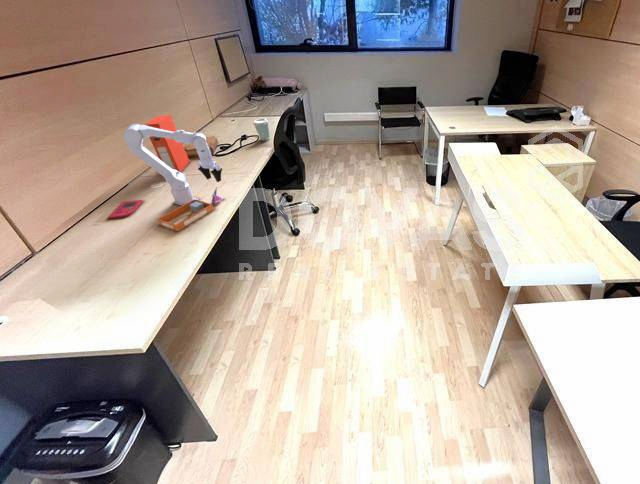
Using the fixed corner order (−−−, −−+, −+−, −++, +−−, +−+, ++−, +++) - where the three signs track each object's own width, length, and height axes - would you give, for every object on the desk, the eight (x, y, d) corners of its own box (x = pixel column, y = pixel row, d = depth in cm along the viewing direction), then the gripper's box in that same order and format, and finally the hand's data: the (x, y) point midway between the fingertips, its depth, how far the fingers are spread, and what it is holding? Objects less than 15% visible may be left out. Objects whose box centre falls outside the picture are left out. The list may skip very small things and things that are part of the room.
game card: (214, 186, 170) (211, 194, 163) (225, 188, 172) (222, 196, 165) (213, 197, 173) (210, 205, 166) (224, 198, 175) (221, 207, 168)
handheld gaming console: (106, 216, 156) (122, 201, 169) (108, 219, 157) (123, 203, 169) (128, 214, 158) (142, 199, 170) (129, 216, 159) (143, 201, 171)
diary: (214, 154, 224) (211, 146, 221) (184, 158, 219) (181, 150, 215) (218, 143, 242) (215, 135, 239) (190, 146, 237) (188, 139, 234)
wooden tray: (159, 225, 152) (156, 219, 150) (197, 204, 167) (194, 199, 166) (177, 231, 148) (174, 225, 146) (214, 210, 163) (212, 204, 161)
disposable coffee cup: (269, 141, 244) (264, 122, 236) (255, 141, 244) (250, 122, 236) (274, 136, 253) (269, 118, 245) (260, 136, 253) (255, 118, 245)
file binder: (166, 174, 198) (143, 124, 180) (176, 163, 212) (156, 115, 195) (180, 173, 199) (159, 123, 182) (189, 162, 213) (170, 114, 196)
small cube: (191, 211, 161) (188, 205, 159) (198, 207, 165) (196, 201, 162) (198, 213, 160) (195, 207, 158) (205, 209, 163) (202, 203, 161)
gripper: (222, 156, 164) (229, 179, 171) (202, 151, 169) (211, 174, 176) (210, 161, 159) (218, 185, 166) (190, 156, 164) (199, 179, 171)
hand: (214, 179), depth 171 cm, fingers open, 7 cm apart
